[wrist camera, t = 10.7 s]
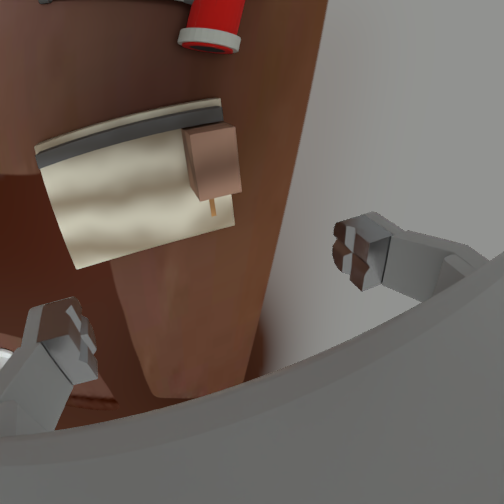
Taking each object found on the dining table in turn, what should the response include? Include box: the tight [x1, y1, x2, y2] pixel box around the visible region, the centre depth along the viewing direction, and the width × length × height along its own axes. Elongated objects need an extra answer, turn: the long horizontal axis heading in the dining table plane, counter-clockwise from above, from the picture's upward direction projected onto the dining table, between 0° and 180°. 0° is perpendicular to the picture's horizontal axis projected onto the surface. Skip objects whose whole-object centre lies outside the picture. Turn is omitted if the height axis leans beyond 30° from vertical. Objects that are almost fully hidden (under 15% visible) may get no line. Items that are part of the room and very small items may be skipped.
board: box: [34, 98, 235, 269], centre depth 33 cm, size 16×21×4 cm
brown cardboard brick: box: [181, 121, 242, 202], centre depth 32 cm, size 7×4×5 cm, turn 6°
